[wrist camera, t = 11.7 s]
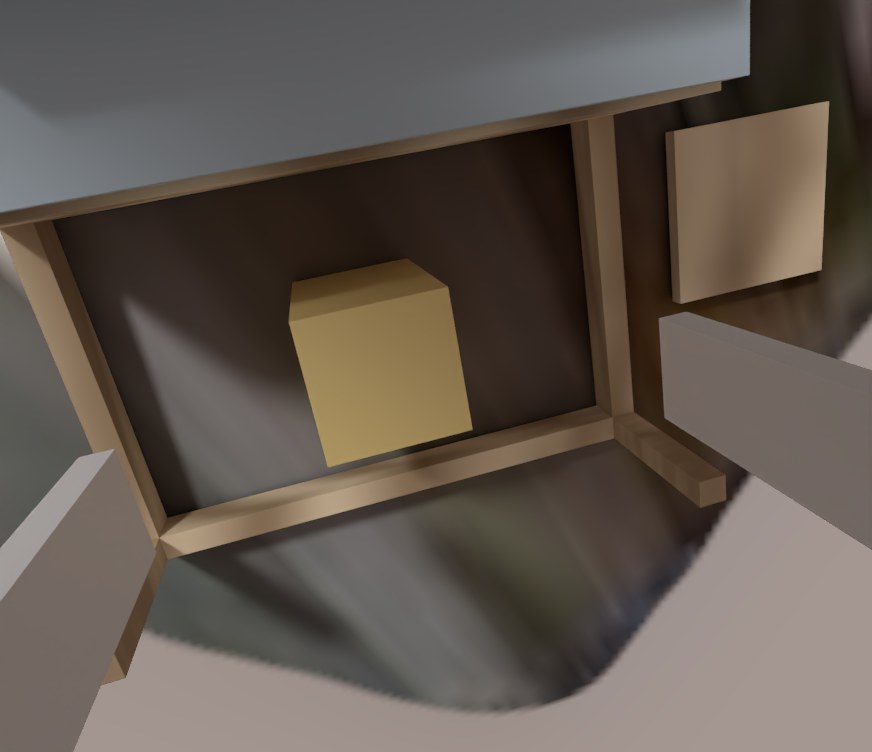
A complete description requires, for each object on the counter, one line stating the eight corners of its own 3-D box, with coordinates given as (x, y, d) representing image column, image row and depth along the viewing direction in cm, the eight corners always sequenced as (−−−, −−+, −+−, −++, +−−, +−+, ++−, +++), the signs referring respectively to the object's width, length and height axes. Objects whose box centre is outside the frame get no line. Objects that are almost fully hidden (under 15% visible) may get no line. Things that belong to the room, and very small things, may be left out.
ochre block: (320, 391, 24) (327, 467, 18) (292, 282, 23) (288, 322, 16) (427, 365, 25) (472, 429, 18) (406, 258, 23) (448, 286, 17)
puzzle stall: (150, 544, 24) (90, 688, 18) (-235, -401, 15) (-710, -920, 8) (618, 419, 27) (726, 500, 21) (550, -435, 18) (710, -831, 11)
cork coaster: (672, 301, 26) (680, 303, 26) (665, 132, 24) (674, 131, 23) (811, 268, 27) (821, 269, 27) (817, 103, 25) (828, 101, 24)
